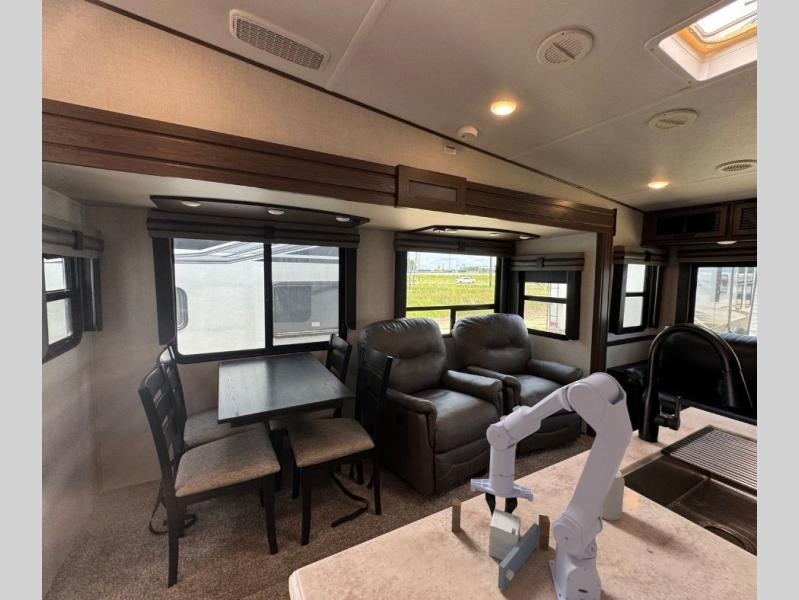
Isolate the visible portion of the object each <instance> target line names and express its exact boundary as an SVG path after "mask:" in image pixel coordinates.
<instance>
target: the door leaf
mask: <svg viewBox="0 0 799 600" xmlns="http://www.w3.org/2000/svg"><path fill="white" fill-rule="evenodd" d="M538 527H539V524H537V523H536V522H533V524H532V525H531V526H530V527H529V528H528V530H527V531H526V532H525V533H524V535H523V536H521V538H520V540H519V542H518V543H517V544H516V545H515V546H514V548H513V549H512V550H511V551H510V552H509V554H508V555H507V556H506V557H505V558H504V560H501V562H500V563H499V565H498V581H497V588H498V589H499V590H500V591H501V592H504V590H505V589H506V587H507V586H508V585H509V584H510V582H512V580H513V578H514V577H515V576H516V574H517V573H518V572H519V570H520V569H521V568H522V566H523V565H524V564H525V562H526V561H527V560H528V559H529V557H530V556H531V554H532V553H533V551H534V550H535V549H536V548H537V547H538Z"/></svg>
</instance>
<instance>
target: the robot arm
mask: <svg viewBox="0 0 799 600" xmlns="http://www.w3.org/2000/svg"><path fill="white" fill-rule="evenodd" d="M562 409H564V410H566V411H568V412H573V411H575V412H576V413H577V414H578V415H579V416H580V417H581V418H582V419H583V420H584V421H585V422H586V423H587V424H588V425H589V426H590V427H591V428H592V429H593V430H594V431H595V433H596V435H595V437H594V441H593V443H592V445H591V448H590V451H589V453H588V455H587V459H586V461H585V464H584V465H583V469H582V471H581V473H580V475H579V479H578V481H577V485H576V487H575V490H574V492H573V495H572V497H571V500H570V501H569V502H568V504H567V505H566V507H565V509H564V510H563V512H562V513H561V516H560V517H558V518H557V519H555V520H554V521H552V523H551V533H552V537H553V539H554V541H555V542H556V543H555V554H554V555H555V556H554V557H555V558H554V560H552V559H549V560H548V564H549V569H550V574H551V577H552V581H553V586H554V589H555V592H556V594H555V595H556V597H557V600H601V594H602V593H601V591H602V581H601V578H600V575H599V572H598V567H597V556H598V555H597V554H598V544H597V540H596V537H597V535H599V534H600V533H601V532H602V531H603V527H604V524H603V518H602V513H603V511H604V510H603V508H602V506H603V504H604V502H605V499H606V497H607V494H608V492H609V490H610V487H611V485H612V483H613V480H614V478H615V476H616V473H617V471H618V470H619V469H620V466H621V463H622V461H623V459H624V456H625V454H626V452H627V450H628V447H629V446H630V445H629V444H630V442H631V440H632V438H633V435H634V431H633V427H632V422H631V419H630V414H629V411H628V405H627V393H626V391H625V390H624V389H623V387H622V386H621V384H620V383H619V382H618V380H617V379H616V378H615V377H613V376H612V375H610V374H608V373H606V372H594V373H592V374H590V375H589V376H587V377H586V378H585V377H583V378H581V379H579V380H576V381H574V382H572V383H569V384H567V385H564V386H562V387H560V388H558V389H557V388H556V389H555V390H553V392H552V393H550V394H548V395H547V396H546V397H544V398H543V399H542V400H540V401H539V402H537V403H536V404H535V405H533V406H532V407H531V406H527V405H522V406H520V405H517V406H515V407H513V408H512V411H513V412H511V413H509V414H508V415H502V416H501V417H500V418H499V420H500V421H498V422H496V423H492V424H490V426H489V427H488V428H487V429H486V439H487V441H488V443H489V444H490V456H489V457H490V459H489V477H488V478H483V479H473V478H471V479H470V492H473V493H474V492H476V491H478V492H479V491H480V492H484V496H485V497H484V498H485V499H484V500H485V502H486V505H487V507H488V509H489V512H490V515H491V517H492V516H493V513H494V509H496V508H497V507H496V505H497V502H496V501H497V499H496V497H499V498H503V499H505V500H504V510H503V511H504V512H507V513H509V514H512V515H513V512H514V511H515V509H517V507H518V505H519V504H518V498H520V499H525V500H528V502H532V503H533V501H534V492H533V489H532V488H528V487H524V486H523V485H520V484H517V483H514V482H515V465H516V464H515V462H516V449H517V444H518V443H519V442H520V441H521V440H523V439H525V438H526V437H528V436H530V435H532V434H533V433H535V432H537V431H539V430H540V428H541V424H542V423H541V421H542V420H544V419H546V418H547V417H549V416H551V415H554V414H555V413H557V412H558V411H560V410H562Z"/></svg>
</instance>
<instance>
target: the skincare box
mask: <svg viewBox="0 0 799 600" xmlns="http://www.w3.org/2000/svg"><path fill="white" fill-rule="evenodd" d="M521 518H522V517H521V516H518V515H515V514H513V513H512V514H509V513H507V512H504V510H501V509H498V508H495V509H494V513H493V516H491V521H490V525H489V541H488V542H489V543H488V544H489V545H488V555H489V556H491V557H494V558H495V559H498V560H501V561H503V560H504V558H505V557H506V556H507V555H508V554H509V552H510V551H511V550H512V549H513V548H514V546H515V545H516V544H517V543H518V542H519V540H520V539H521V538H520V536H521V522H522V521H521V520H522V519H521Z"/></svg>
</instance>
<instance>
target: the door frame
mask: <svg viewBox="0 0 799 600" xmlns="http://www.w3.org/2000/svg"><path fill="white" fill-rule="evenodd" d="M451 508H452V510H451V512H452V513H451V532H453V533H457V534H460V533H461V532H460V531H461V521H462V520H461V517H462V516H461V515H462V512H461V511H462V500H460V499H454V498H453V499H452V506H451ZM550 521H551V520H550V517H549V516H548V515H544V514H539V515H538V525H539V527H538V544H537V547H538V549H539V550H542V551H545V552H549V545H550V532H551V530H550V529H551V522H550Z"/></svg>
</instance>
